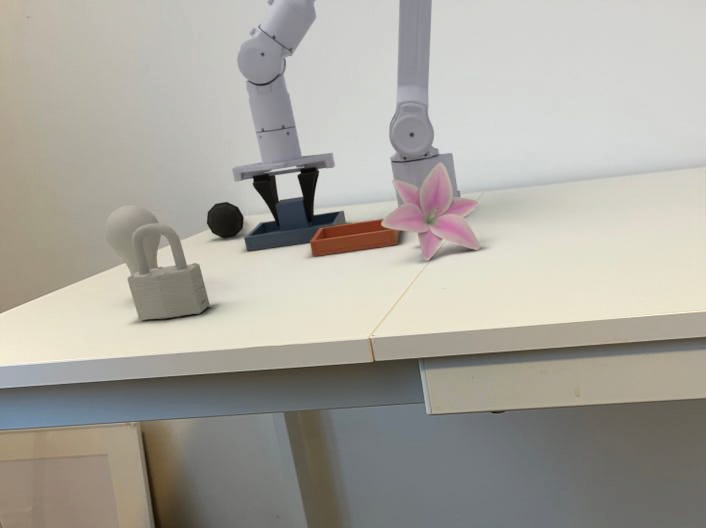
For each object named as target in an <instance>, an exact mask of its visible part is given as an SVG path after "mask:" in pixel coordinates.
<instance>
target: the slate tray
mask: <svg viewBox="0 0 706 528" xmlns="http://www.w3.org/2000/svg"><path fill="white" fill-rule="evenodd" d="M343 224H347V221H346V214H345V211H344V210H339V211H332V212H331V211H330V212H325V213H324V212H323V213H318V214H317V213H316V214H314V220H313V222H312V225H313V227H310V228H303V229H296V230H289V231H282V232H281V228H280V226H279V227H277V224H276V222H275V220H269V221H262V222H260V223H258V224H257V225H256V226H255V227H254V228H253V229H252V230H250V231H249V233H247V234H246V235H245V236H244V237H243V239H244V243H245V248H246V251H247V252H251V251H257V250H258V251H259V250H267V249H272V248H279V247H286V246H294V245H300V244H307V243H308V244H309V243H310V241H311V240H312V238H313V237H314V235H315V234H316V232H317V231H318V229H319V228H322V227H323V228H324V227H329V226H336V225H343Z"/></svg>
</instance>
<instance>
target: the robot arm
mask: <svg viewBox="0 0 706 528" xmlns="http://www.w3.org/2000/svg"><path fill="white" fill-rule="evenodd" d="M266 2H267V4H268V5H269V7H268V9H267V11H266V12H265V14H264V15H263V17H262V19H261V20H260V22H259V23H258V25H257V26H256V28H255V27H252V28H251V29H250V31H249V32H248V33H249V35H250V36H251V38H249V39H246V40H244V41H243V42H242V43H241V44H240V49H239V51H238V53H237V58H236V61H237V67H238V69H239V72H240V73H241V75H242V76H243V77H244V78H245V79H246V80H245V85H246V86H245V87H246V91H247V93H248V104H249V108H250V112H251V118H252V121H253V122H252V123H253V126H254V131H255V135H256V139H257V144H258V148H259V153H260V159H261V162H256V163H255V162H254V163H248V164H243V165H236V166H234V167H232V168H231V171H232V176H233V180H234V182H235V183H236V182H242V181H245V180H252V179H253V180H252V181H253V182H252V183H251V184H252V187H253V188H254V190H255V191H256V192H257V193H258V194H259V195H260V197H261V199H262V200H263V201H264V203H265V205H267V208H268V209H269V211H270V213H271V215H272V217H273V219H274V221H275V222H276V224H277V227H279V226H280V224H279V219H278V214H277V210H276V205H275V204H276V203H278V202H279V201H280V199H279V193H278V187H277V186H278V185H277V180H276V179H277V178H276V176H280V175H286V174H287V175H288V174H294V173H298V174H297V175H296V176H297V180H298V183H299V187H300V190H301V194H302V197H303V199H304V204H305V211H306V216H307V220H308V222H313V220H314V215H315V212H314V211H315V196H316V195H315V194H316V190H317V184H318V179H319V175H320V170H322V169H333V168H334V167H335V166H336V162H335V158H334V157H335V156H334V153H333V152H328V153H319V154H310V155H302V151H301V145H300V140H299V136H298V135H299V134H298V131H297V126H296V121H295V116H294V112H293V106H292V101H291V97H290V96H291V95H290V93H289V92H288V88H287V84H286V79H285V75H284V74H285V72H286V69H287V59H286V58H287V57H292V56H293V55H294V53H295V52H296V50H297V49H298V47H299V46H300V44H301V42H302V41H303V39H304V37H305V36H306V35H307V34H308V32H309V30H310V29H311V27H312V25H314V22H315V21H316V20H317V12H316V9H315V2H316V0H267V1H266ZM432 3H433V0H399V4H398V37H397V38H398V39H397V43H398V45H397V75H396V77H397V78H396V79H397V80H396V104H395V105H396V108H395V112H394V113H393V116H392V118H391V120H390V123H389V126H388V128H389V129H388V137H389V142H390V144H391V146H392V148H393V149H394V151H395V153H394V154H393V155H392V156H390V157H389V159H390V165H391V172H392V177H393V180H400V181H403V182H406V183H409V184H412V185H414V186H416V187H418V188H420V189H421V186H422V184H423V182H424V181H425V179H426V177H427V176H428V175H429V173H430V172H431V170H432V169H433V168H434V167H435V166H436V165H437V164H438V163H443V164H444V166H445V167H446V169H447V172H448V175H449V178H450V181H451V185H452V189H453V197H461V198H462V195H461V190H458V185H457V184H458V183H457V176H456V170H455V162H454V156H453V153H452V152H448V153H447V152H446V153H440V151H439V148H437V147H434V146H433V143H434V139H435V131H434V127H433V124H432V122H431V120H430V116H429V81H430V80H429V77H430V58H431V57H430V55H431V54H430V53H431V52H430V51H431V31H432V30H431V29H432V5H433V4H432ZM294 167H296V168H294ZM287 168H289V169H287ZM280 169H282V170H280ZM273 170H276V171H273ZM394 189H395V188H394ZM395 195H396V201H397V208H398V207H399V206H401V205H402V204H405V203H404V202H403V200H402V199H401V197H400V196H399V194H398V192H397V190H396V189H395Z"/></svg>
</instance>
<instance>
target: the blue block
mask: <svg viewBox="0 0 706 528" xmlns="http://www.w3.org/2000/svg"><path fill="white" fill-rule="evenodd" d="M275 205H276V210H277V214H278V219H279V224H280V228H281V232H282V231H289V230H296V229H303V228H310V227H313V225H312V222H308V220H307V216H306V211H305V204H304V199H303V196H298V197H292V198H285V199H279V202H278V203H276V204H275Z"/></svg>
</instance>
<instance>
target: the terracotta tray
mask: <svg viewBox="0 0 706 528" xmlns="http://www.w3.org/2000/svg"><path fill="white" fill-rule="evenodd" d="M383 220H384V218H380V219H379V218H378V219H374V220H373V219H371V220H365V221H359V222H352V223H350V222H349V223H346V224H343V225H336V226H329V227H324V228H323V227H322V228H319V229H318V231H317V232H316V234H315V235H314V237H313V238H312V240H311V241H310V242H309V245H310V249H311V254H312V257H320V256H327V255H333V254H340V253H349V252H354V251H361V250H369V249H376V248H382V247H389V246H396V245H398V240H399V236H400V231H401V230H396V229H389V228H385V227H383V226H382V225H381V222H382V221H383Z"/></svg>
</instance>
